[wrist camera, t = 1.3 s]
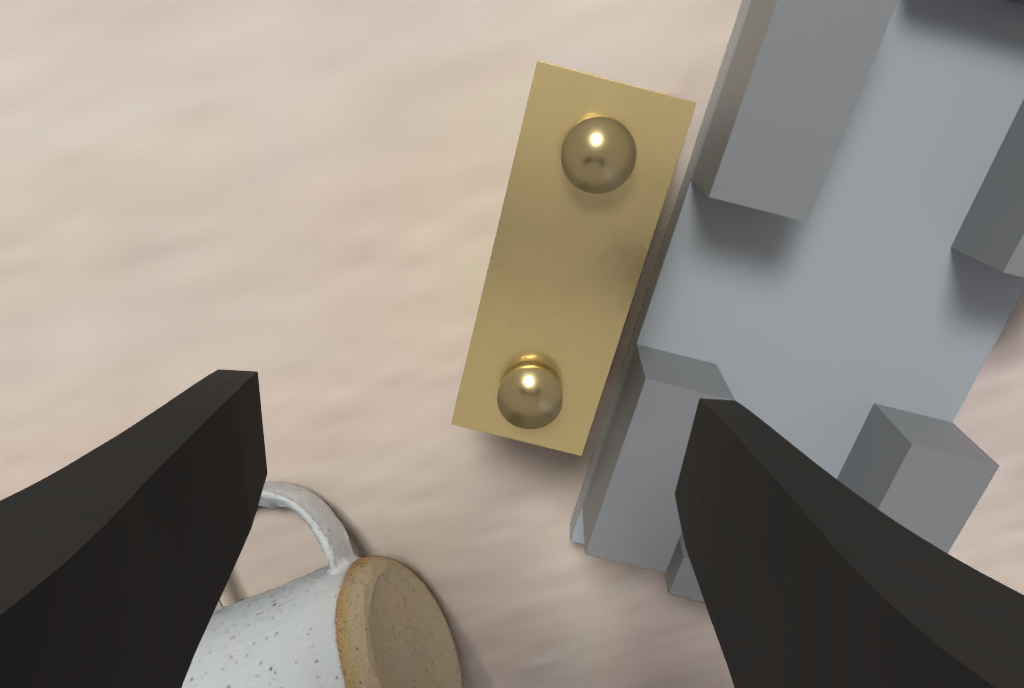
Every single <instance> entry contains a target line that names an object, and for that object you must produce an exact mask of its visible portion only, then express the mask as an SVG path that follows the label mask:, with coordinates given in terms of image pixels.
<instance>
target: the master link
mask: <svg viewBox="0 0 1024 688" xmlns="http://www.w3.org/2000/svg"><path fill="white" fill-rule="evenodd" d="M695 105H696V103H695V102H692V101H688V100H685V99H682V98H679V97H675V96H672V95H669V94H666V93H662V92H658V91H654V90H650V89H647V88H643V87H639V86H635V85H631V84H627V83H624V82H620V81H616V80H612V79H608V78H605V77H601V76H597V75H593V74H589V73H585V72H582V71H578V70H574V69H570V68H566V67H563V66H559V65H555V64H551V63H547V62H543V61H537V65H536V69H535V73H534V77H533V81H532V86H531V90H530V94H529V98H528V103H527V107H526V111H525V115H524V119H523V124H522V128H521V132H520V136H519V140H518V145H517V149H516V153H515V157H514V162H513V166H512V170H511V174H510V178H509V183H508V187H507V191H506V195H505V199H504V204H503V208H502V212H501V216H500V221H499V225H498V229H497V233H496V237H495V242H494V246H493V250H492V254H491V258H490V263H489V267H488V271H487V275H486V280H485V284H484V288H483V292H482V296H481V301H480V305H479V309H478V313H477V317H476V322H475V326H474V330H473V334H472V339H471V343H470V347H469V351H468V355H467V360H466V364H465V368H464V372H463V377H462V381H461V385H460V389H459V393H458V398H457V402H456V406H455V410H454V414H453V419H452V423H451V424H453V425H457V426H461V427H465V428H469V429H473V430H477V431H481V432H485V433H489V434H494V435H498V436H502V437H506V438H510V439H514V440H518V441H522V442H526V443H530V444H534V445H538V446H543V447H547V448H551V449H555V450H559V451H563V452H567V453H571V454H575V455H579V456H582V453H583V450H584V447H585V444H586V441H587V438H588V435H589V431H590V428H591V425H592V422H593V419H594V416H595V413H596V410H597V407H598V404H599V401H600V398H601V395H602V391H603V388H604V385H605V382H606V379H607V376H608V373H609V370H610V367H611V364H612V361H613V358H614V355H615V351H616V348H617V345H618V342H619V339H620V336H621V333H622V330H623V327H624V324H625V321H626V318H627V315H628V311H629V308H630V305H631V302H632V299H633V296H634V293H635V290H636V287H637V284H638V281H639V278H640V275H641V271H642V268H643V265H644V262H645V259H646V256H647V253H648V250H649V247H650V244H651V241H652V238H653V235H654V231H655V228H656V225H657V222H658V219H659V216H660V213H661V210H662V207H663V204H664V201H665V198H666V194H667V191H668V188H669V185H670V182H671V179H672V176H673V173H674V170H675V167H676V164H677V161H678V158H679V154H680V151H681V148H682V145H683V142H684V139H685V136H686V133H687V130H688V127H689V124H690V121H691V118H692V114H693V111H694V108H695Z"/></svg>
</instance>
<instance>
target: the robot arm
mask: <svg viewBox="0 0 1024 688" xmlns="http://www.w3.org/2000/svg"><path fill="white" fill-rule="evenodd" d="M266 476H267V465H266V455H265V444H264V434H263V424H262V413H261V403H260V392H259V382H258V372H252V371H236V370H219V369H218V370H217V371H215V372H213V373H212V374H210V375H208V376H207V377H205V378H204V379H202V380H200V381H199V382H197V383H196V384H194V385H193V386H191V387H190V388H188V389H187V390H185V391H184V392H183V393H181V394H180V395H178V396H177V397H175V398H174V399H172V400H171V401H169V402H168V403H166V404H165V405H163V406H162V407H160V408H159V409H157V410H156V411H154V412H153V413H151V414H150V415H148V416H147V417H145V418H144V419H142V420H141V421H139V422H138V423H136V424H135V425H133V426H132V427H130V428H128V429H127V430H125V431H124V432H122V433H121V434H119V435H118V436H116V437H114V438H113V439H111V440H109V441H108V442H106V443H104V444H102V445H101V446H99V447H97V448H96V449H94V450H92V451H91V452H89V453H87V454H86V455H84V456H82V457H81V458H79V459H77V460H76V461H74V462H72V463H71V464H69V465H67V466H66V467H64V468H62V469H61V470H59V471H57V472H55V473H53V474H52V475H50V476H48V477H46V478H44V479H42V480H41V481H39V482H37V483H35V484H33V485H31V486H29V487H27V488H25V489H23V490H21V491H19V492H17V493H15V494H13V495H11V496H9V497H7V498H5V499H3V500H1V501H0V688H182V685H183V682H184V680H185V677H186V675H187V672H188V670H189V667H190V665H191V662H192V660H193V657H194V655H195V652H196V650H197V648H198V646H199V643H200V641H201V639H202V637H203V635H204V632H205V630H206V628H207V626H208V624H209V621H210V619H211V617H212V615H213V613H214V610H215V608H216V606H217V604H218V601H219V599H220V597H221V595H222V593H223V590H224V588H225V586H226V584H227V582H228V579H229V577H230V575H231V573H232V571H233V568H234V566H235V564H236V562H237V559H238V557H239V555H240V553H241V550H242V548H243V546H244V544H245V541H246V539H247V537H248V534H249V532H250V530H251V527H252V524H253V521H254V518H255V514H256V511H257V508H258V505H259V501H260V498H261V494H262V490H263V487H264V483H265V480H266ZM675 498H676V504H677V509H678V514H679V519H680V524H681V529H682V533H683V538H684V542H685V547H686V550H687V553H688V556H689V559H690V562H691V565H692V568H693V570H694V573H695V576H696V579H697V582H698V585H699V588H700V590H701V593H702V596H703V599H704V601H705V604H706V607H707V610H708V613H709V615H710V618H711V621H712V624H713V626H714V629H715V632H716V635H717V637H718V640H719V643H720V646H721V649H722V651H723V654H724V657H725V660H726V662H727V665H728V668H729V671H730V674H731V677H732V681H733V684H734V687H735V688H1024V595H1022V594H1020V593H1018V592H1017V591H1015V590H1013V589H1011V588H1009V587H1007V586H1005V585H1003V584H1001V583H999V582H998V581H996V580H994V579H992V578H990V577H988V576H986V575H984V574H982V573H980V572H979V571H977V570H975V569H973V568H972V567H970V566H968V565H966V564H964V563H963V562H961V561H959V560H957V559H956V558H954V557H952V556H951V555H949V554H947V553H946V552H944V551H942V550H941V549H939V548H937V547H936V546H934V545H933V544H931V543H929V542H928V541H926V540H924V539H923V538H921V537H920V536H918V535H916V534H915V533H913V532H911V531H910V530H908V529H907V528H905V527H904V526H902V525H901V524H899V523H898V522H896V521H895V520H893V519H891V518H890V517H889V516H887V515H886V514H884V513H883V512H881V511H880V510H879V509H877V508H876V507H874V506H873V505H871V504H870V503H869V502H867V501H866V500H864V499H863V498H862V497H860V496H859V495H857V494H856V493H855V492H853V491H852V490H850V489H849V488H848V487H846V486H845V485H844V484H842V483H841V482H840V481H838V480H837V479H836V478H834V477H833V476H832V475H830V474H829V473H828V472H827V471H825V470H824V469H823V468H821V467H820V466H819V465H818V464H816V463H815V462H814V461H812V460H811V459H810V458H809V457H807V456H806V455H805V454H804V453H802V452H801V451H800V450H799V449H797V448H796V447H795V446H794V445H792V444H791V443H790V442H789V441H787V440H786V439H785V438H784V437H782V436H781V435H780V434H779V433H778V432H776V431H775V430H774V429H773V428H771V427H770V426H769V425H768V424H766V423H765V422H764V421H763V420H761V419H760V418H759V417H757V416H756V415H755V414H754V413H752V412H751V411H750V410H748V409H747V408H746V407H744V406H743V405H741V404H740V403H738V402H737V401H735V400H719V399H703V398H699V402H698V406H697V410H696V414H695V417H694V421H693V425H692V429H691V433H690V437H689V440H688V444H687V448H686V452H685V456H684V460H683V463H682V467H681V471H680V475H679V479H678V483H677V486H676V490H675Z"/></svg>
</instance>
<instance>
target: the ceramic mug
mask: <svg viewBox="0 0 1024 688" xmlns="http://www.w3.org/2000/svg"><path fill="white" fill-rule="evenodd" d="M258 506H262V507H267V508H272V509H274V508H276V507H278V506H279V507H288V508H290V509H292V510H294V511H295V512H296V513H297V514H298V515H299V516H300V517H301V518H302V520H304V521H305V522H307V524H308V525H309V527H310V529H311V530H312V532H313V534H314V535H315V537H316V539H317V540H318V542H319V543H320V544H321V546H322V551H323V553H324V555H325V557H326V559H327V560H328V564H329V566H327V567H324V568H321V569H317V570H316V571H314V572H312V573H310V574H308V575H306V576H304V577H301V578H298V579H295V580H293V581H290V582H288V583H287V584H285V585H283V586H279V587H277V588H275V589H272V590H269V591H266V592H264V593H261V594H258V595H255V596H253V597H250V598H247V599H245V600H241V601H239V602H237V603H234V604H232V605H230V606H225V607H223V605H222V603H221V601H220V599H219V601H218V604H217V606H216V608H215V610H214V613H213V615H212V617H211V619H210V621H209V624H208V626H207V628H206V630H205V632H204V635H203V637H202V639H201V641H200V643H199V646H198V648H197V650H196V652H195V655H194V657H193V660H192V662H191V665H190V667H189V670H188V672H187V675H186V677H185V680H184V682H183V685H182V688H463V683H462V676H461V669H460V663H459V659H458V655H457V651H456V647H455V643H454V640H453V637H452V634H451V631H450V629H449V626H448V623H447V621H446V619H445V617H444V615H443V613H442V611H441V609H440V607H439V605H438V603H437V601H436V600H435V598H434V596H433V595H432V593H431V592H430V591H429V589H428V588H427V587H426V585H425V584H424V583H423V582H422V581H421V580H420V579H419V578H418V577H417V576H416V574H415V573H414V572H412V571H411V570H409V569H408V568H407V567H405V566H404V565H402V564H401V563H399V562H397V561H395V560H393V559H390V558H388V557H382V556H371V557H358V556H356V555H355V554H354V551H353V548H352V546H351V544H350V540H349V537H348V534H347V532H346V530H345V528H344V526H343V524H342V523H341V522H340V521H339V519H338V518H337V517H336V516H335V514H334V513H333V511H332V510H331V508H330V507H329V506H328V505H326V503H325V502H324V501H323V500H322V499H321V498H320V497H319V496H317V495H316V494H314V493H313V492H312V491H310V490H308V489H306V488H304V487H301V486H299V485H295V484H290V483H285V482H265V483H264V487H263V490H262V494H261V498H260V501H259V505H258Z"/></svg>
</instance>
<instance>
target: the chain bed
mask: <svg viewBox="0 0 1024 688" xmlns="http://www.w3.org/2000/svg"><path fill="white" fill-rule="evenodd" d="M1023 292H1024V0H743V1H742V4H741V7H740V10H739V13H738V16H737V19H736V22H735V25H734V28H733V31H732V34H731V37H730V40H729V43H728V46H727V50H726V53H725V56H724V59H723V62H722V65H721V68H720V71H719V74H718V77H717V80H716V83H715V86H714V89H713V92H712V95H711V98H710V101H709V104H708V107H707V110H706V113H705V116H704V119H703V122H702V125H701V128H700V131H699V134H698V137H697V140H696V143H695V147H694V150H693V153H692V156H691V159H690V162H689V165H688V168H687V171H686V174H685V177H684V180H683V183H682V186H681V189H680V192H679V195H678V198H677V201H676V204H675V207H674V210H673V213H672V216H671V219H670V222H669V225H668V228H667V231H666V234H665V237H664V241H663V244H662V247H661V250H660V253H659V256H658V259H657V262H656V265H655V268H654V271H653V274H652V277H651V280H650V283H649V286H648V289H647V292H646V295H645V298H644V301H643V304H642V307H641V310H640V313H639V316H638V319H637V322H636V325H635V328H634V331H633V334H632V338H631V341H630V344H629V347H628V350H627V353H626V356H625V359H624V362H623V365H622V368H621V371H620V374H619V377H618V380H617V383H616V386H615V389H614V392H613V395H612V398H611V401H610V404H609V407H608V410H607V413H606V416H605V419H604V422H603V425H602V428H601V431H600V435H599V438H598V441H597V444H596V447H595V450H594V453H593V456H592V459H591V462H590V465H589V468H588V471H587V474H586V477H585V480H584V483H583V486H582V489H581V492H580V495H579V498H578V501H577V504H576V507H575V510H574V513H573V516H572V519H571V522H570V538H571V542H576V543H580V544H584V545H585V554H586V555H590V556H595V557H599V558H603V559H607V560H611V561H616V562H620V563H624V564H628V565H632V566H637V567H641V568H645V569H649V570H653V571H658V572H662V573H664V574H665V578H666V583H667V588H668V593H669V594H672V595H676V596H680V597H684V598H688V599H693V600H697V601H701V602H705V601H704V599H703V596H702V593H701V590H700V588H699V585H698V582H697V579H696V576H695V573H694V570H693V568H692V565H691V562H690V559H689V556H688V553H687V550H686V547H685V542H684V538H683V533H682V529H681V524H680V519H679V514H678V509H677V504H676V498H675V490H676V486H677V483H678V479H679V475H680V471H681V467H682V463H683V460H684V456H685V452H686V448H687V444H688V440H689V437H690V433H691V429H692V425H693V421H694V417H695V414H696V410H697V406H698V402H699V398H703V399H719V400H735V401H737V402H738V403H740V404H741V405H743V406H744V407H746V408H747V409H748V410H750V411H751V412H752V413H754V414H755V415H756V416H757V417H759V418H760V419H761V420H763V421H764V422H765V423H766V424H768V425H769V426H770V427H771V428H773V429H774V430H775V431H776V432H778V433H779V434H780V435H781V436H782V437H784V438H785V439H786V440H787V441H789V442H790V443H791V444H792V445H794V446H795V447H796V448H797V449H799V450H800V451H801V452H802V453H804V454H805V455H806V456H807V457H809V458H810V459H811V460H812V461H814V462H815V463H816V464H818V465H819V466H820V467H821V468H823V469H824V470H825V471H827V472H828V473H829V474H830V475H832V476H833V477H834V478H836V479H837V480H838V481H840V482H841V483H842V484H844V485H845V486H846V487H848V488H849V489H850V490H852V491H853V492H855V493H856V494H857V495H859V496H860V497H862V498H863V499H864V500H866V501H867V502H869V503H870V504H871V505H873V506H874V507H876V508H877V509H879V510H880V511H881V512H883V513H884V514H886V515H887V516H889V517H890V518H891V519H893V520H895V521H896V522H898V523H899V524H901V525H902V526H904V527H905V528H907V529H908V530H910V531H911V532H913V533H915V534H916V535H918V536H920V537H921V538H923V539H924V540H926V541H928V542H929V543H931V544H933V545H934V546H936V547H937V548H939V549H941V550H942V551H944V552H946V553H947V554H948V552H949V550H950V548H951V547H952V545H953V543H954V542H955V540H956V538H957V537H958V535H959V533H960V532H961V530H962V528H963V526H964V525H965V523H966V521H967V520H968V518H969V516H970V515H971V513H972V511H973V510H974V508H975V506H976V505H977V503H978V501H979V499H980V498H981V496H982V494H983V493H984V491H985V489H986V488H987V486H988V484H989V483H990V481H991V479H992V477H993V476H994V474H995V472H996V471H997V469H998V467H999V465H998V464H997V463H996V462H995V461H993V460H992V459H991V458H990V457H989V456H988V455H987V454H986V453H985V452H984V451H983V450H982V449H980V448H979V447H978V446H977V445H976V444H975V443H974V442H973V441H972V440H971V439H970V438H968V437H967V436H966V435H965V434H964V433H963V432H962V431H961V430H960V429H959V428H958V427H956V426H955V425H954V424H953V423H952V422H953V420H954V418H955V416H956V414H957V412H958V411H959V409H960V407H961V405H962V403H963V402H964V400H965V398H966V396H967V394H968V392H969V391H970V389H971V387H972V385H973V383H974V381H975V380H976V378H977V376H978V374H979V372H980V370H981V369H982V367H983V365H984V363H985V361H986V359H987V358H988V356H989V354H990V352H991V350H992V348H993V347H994V345H995V343H996V341H997V339H998V337H999V336H1000V334H1001V332H1002V330H1003V328H1004V326H1005V325H1006V323H1007V321H1008V319H1009V317H1010V316H1011V314H1012V312H1013V310H1014V308H1015V306H1016V305H1017V303H1018V301H1019V299H1020V297H1021V295H1022V294H1023Z"/></svg>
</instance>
